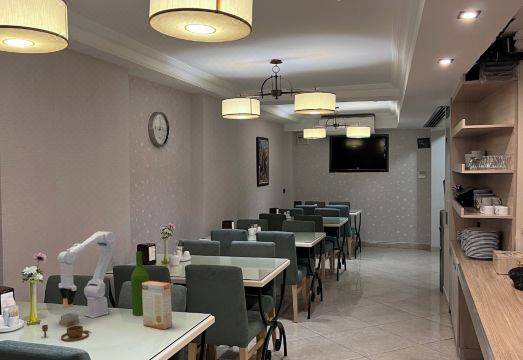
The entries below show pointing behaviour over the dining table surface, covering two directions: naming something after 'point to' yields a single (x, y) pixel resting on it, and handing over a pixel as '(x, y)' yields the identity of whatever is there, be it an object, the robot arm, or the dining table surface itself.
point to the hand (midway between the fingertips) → (68, 303)
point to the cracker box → (157, 304)
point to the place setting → (70, 333)
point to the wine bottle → (138, 285)
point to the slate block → (69, 317)
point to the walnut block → (69, 323)
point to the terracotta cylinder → (66, 303)
